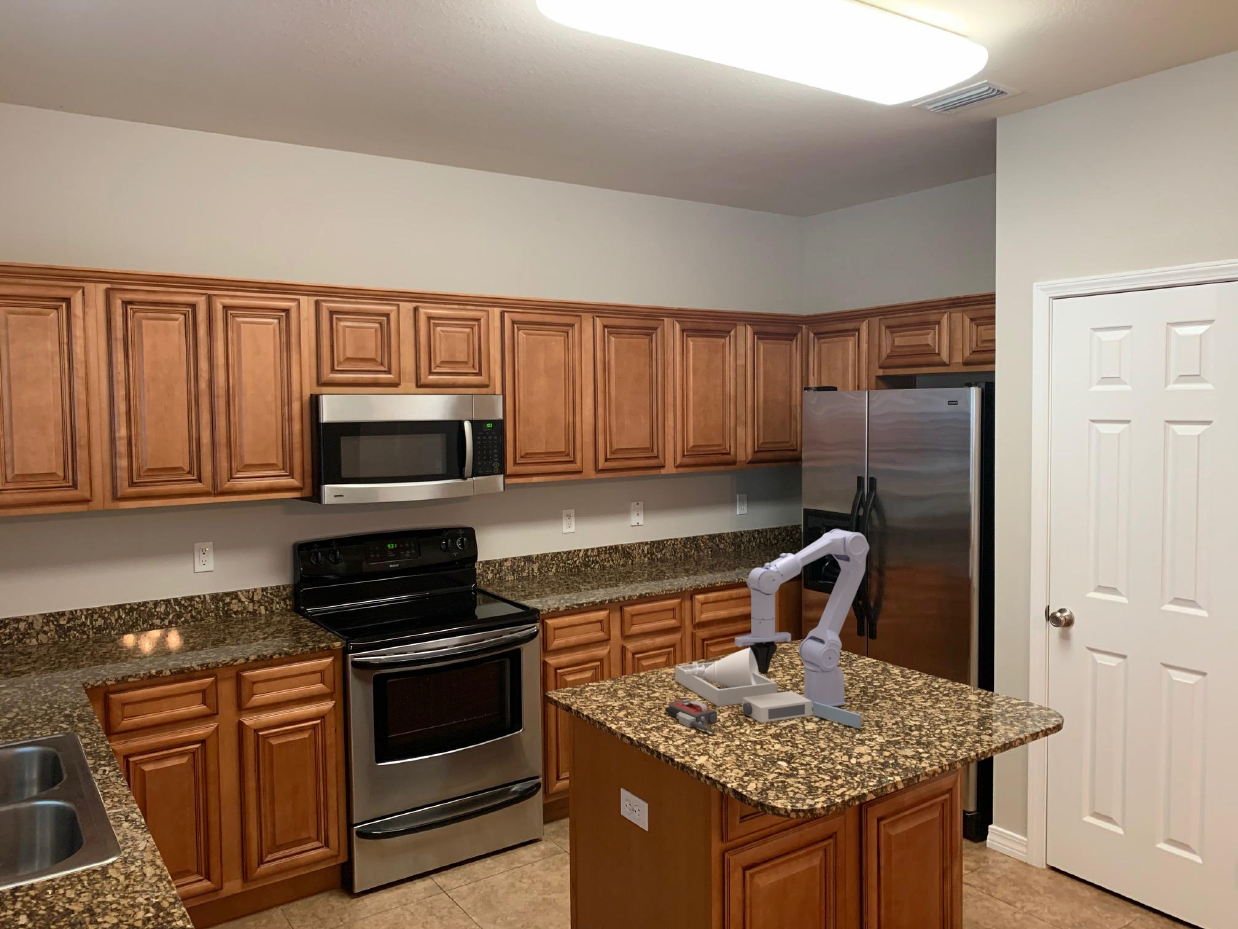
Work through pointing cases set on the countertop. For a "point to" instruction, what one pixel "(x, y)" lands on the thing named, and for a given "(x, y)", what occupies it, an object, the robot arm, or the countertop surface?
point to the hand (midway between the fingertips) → (763, 673)
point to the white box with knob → (776, 706)
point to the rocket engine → (729, 670)
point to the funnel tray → (723, 695)
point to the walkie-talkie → (692, 714)
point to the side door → (837, 715)
